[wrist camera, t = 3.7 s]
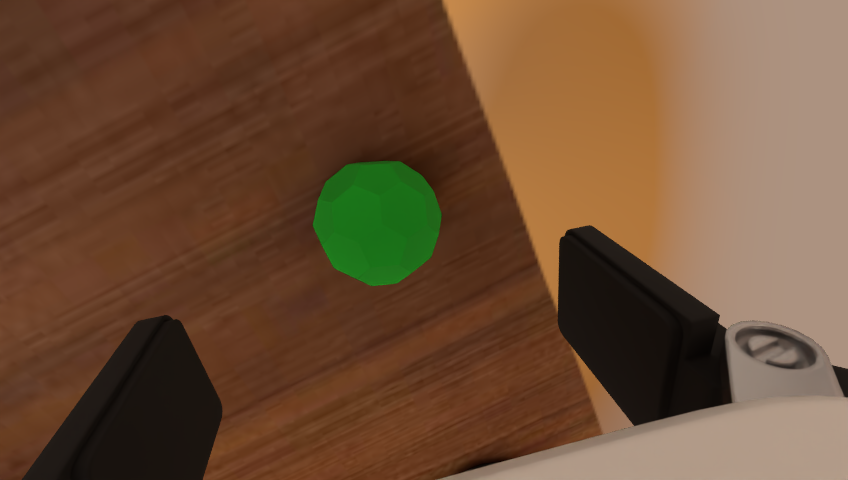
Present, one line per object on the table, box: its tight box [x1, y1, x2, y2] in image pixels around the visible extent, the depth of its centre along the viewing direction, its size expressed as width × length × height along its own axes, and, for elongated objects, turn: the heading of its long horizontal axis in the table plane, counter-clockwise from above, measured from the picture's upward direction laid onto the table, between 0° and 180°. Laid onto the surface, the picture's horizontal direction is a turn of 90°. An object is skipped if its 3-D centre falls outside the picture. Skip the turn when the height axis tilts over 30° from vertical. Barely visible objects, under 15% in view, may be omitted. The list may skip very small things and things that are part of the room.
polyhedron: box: [313, 161, 442, 286], centre depth 16 cm, size 5×5×5 cm
